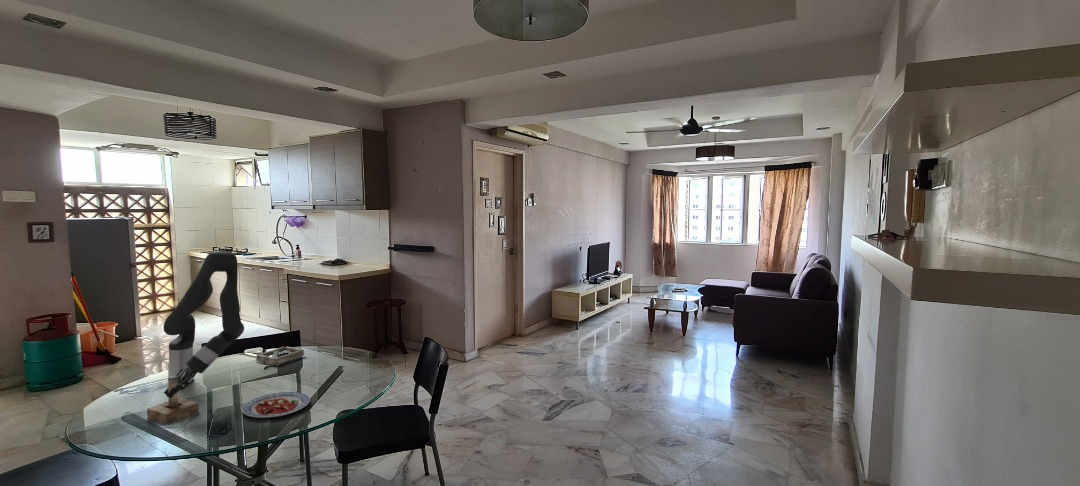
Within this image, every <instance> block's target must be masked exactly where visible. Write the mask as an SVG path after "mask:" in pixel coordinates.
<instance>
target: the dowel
mask: <svg viewBox="0 0 1080 486" xmlns="http://www.w3.org/2000/svg"><path fill="white" fill-rule="evenodd" d="M167 382H168V383H167V388H168V392H169V391H170V390H171V389H172V388H173V387H174V386H175V385H176V384H177V383H178V376H171V377H167ZM167 398H168V399H167V400H168V401H167V402H168V403H169V407H176V406H178V405H179V404H178V398H179V391H178V392H177V393H176V394H175V395H174V396H173V397H172V398H169V397H167Z"/></svg>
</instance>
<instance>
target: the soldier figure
mask: <svg viewBox="0 0 1080 486" xmlns="http://www.w3.org/2000/svg"><path fill="white" fill-rule="evenodd" d="M272 352H273V353H274V354H273V356H272V357H274V358H278V357H279V356H277V355H278V354H279V351H278V350H277V352H276V351H272Z"/></svg>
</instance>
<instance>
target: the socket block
mask: <svg viewBox="0 0 1080 486" xmlns="http://www.w3.org/2000/svg"><path fill="white" fill-rule="evenodd" d="M178 404H179V405H178V406H176V407H169V403H168V401H165V402H163V403H160V404H157V405H154V406H152V407H148V408H147V409H146V413H147V414H146V418H147V420H149V419H151V420H150V421H153V420H155V421H154V422H156V421H158V422H157V423H159V422H162V423H161V424H163V423H165V424H164V425H166V424H168V425H170V424H169V423H171V424H173V423H175V422H174V421H176V422H178V421H180V420H179V419H181V420H183V419H182V418H184V419H185V417H186V418H188V416H189V417H191V416H194V415H196V414H199V412H200V411H199V404H200V403H199V402H196V401H193V400H189V399H185V398H182V397H178ZM177 420H178V421H177ZM172 422H173V423H172Z"/></svg>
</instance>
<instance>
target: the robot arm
mask: <svg viewBox="0 0 1080 486" xmlns="http://www.w3.org/2000/svg"><path fill="white" fill-rule="evenodd" d="M216 272H217V273H224V272H225V274H226V281H225V284H224V287H223V289H222V290H221V292H220V295H219V305H220V312H221V314H222V315H221V318H222V319H221V321H222V322H221V325H222V329H223V330H222V331H221V332H220V333H219V334H218V335H215V336H212V337H211V338H210V339H209V340H208V341H207V342H206V343H205V344H204V345H203V346H202V347H201V348H200V349H198V350H197V351H196V352H195V354H194V342H195V338H196V320H195V317H194V315H193V313H195V312H196V311H199V309H201V308H202V307H203V306H205V304H206V303H207V302H208V300H209V299H210V298H211V296H212V295H213V292H214V290H213V289H214V288H213V285H212V282H211V281H212V280H211V278H212V276H213V274H215V273H216ZM238 276H239V275H238V259H237V255H236V254H235V253H234V252H231V251H219V250H218V251H216V250H215V251H211V252H209V253H208V254H207V255H206V257H205V259H204V261H203V263H202V265H201V268H200V269H199V271H198V272H197V275H196V276H195V278H194V280H193V281H192V283H191V284H190V286H189V287H188V288H187V290H186V292H185V294H184V295H183V297H182V298H181V300H180V301H179V302H178V304H177V306H176V307H175V308H174V309H173V310H172V312H170V314H169V315H168V316H167V317H166V319H165V320H164V323H163V326H162V327H163V328H162V329H163V332H164V333H165V334H166V335H167V336H177V335H178V336H177V337H175V338H174V339H173V340H172V341H170V342H169V343H168V364H167V368H168V369H167V371H168V372H167V373H168V375H167V376H168V377H171V376H178V383H177V384H176V385H175V386H174V387H173V388H172V389H171V390H170V391H169V392H168V387H167V389H166V390H164V391H163V394H164V395H165V396H166V398H168V397H169V398H172V397H173V396H174V395H175V394H176V393H177V392H178V393H179V391H183V390H186V388H188V386H190V385H191V384H192V383H194V382H195V377H196V375H197V374H203V373H204V372H205V371H206V370H207V369H208V368H209V367H210V366H211V365H212V364H213V363H214V362H216V361H215V360H217V358H218V357H219V356H220V355H221V354H222V353H223V352H224V351H225V350H226V348H227V347H229V346H230V345H231V344H233V343H234V342H235V341H236V340H238V338H239V337H240V336H242V335H243V333H244V331H245V325H244V324H243V322H242V319H241V314H240V312H241V306H240V299H239V293H238V292H239V291H238ZM168 377H167V378H168Z"/></svg>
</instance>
